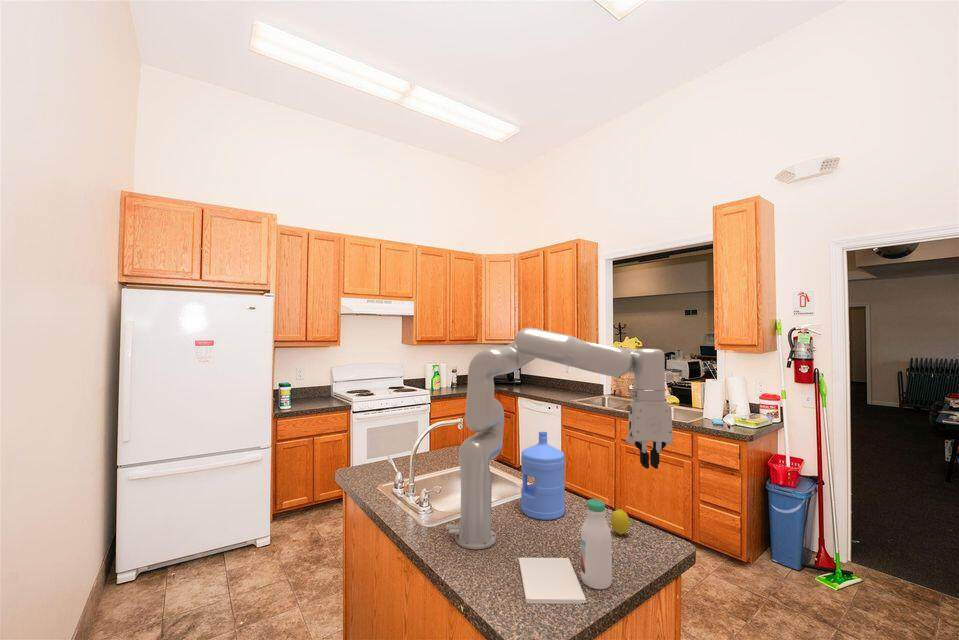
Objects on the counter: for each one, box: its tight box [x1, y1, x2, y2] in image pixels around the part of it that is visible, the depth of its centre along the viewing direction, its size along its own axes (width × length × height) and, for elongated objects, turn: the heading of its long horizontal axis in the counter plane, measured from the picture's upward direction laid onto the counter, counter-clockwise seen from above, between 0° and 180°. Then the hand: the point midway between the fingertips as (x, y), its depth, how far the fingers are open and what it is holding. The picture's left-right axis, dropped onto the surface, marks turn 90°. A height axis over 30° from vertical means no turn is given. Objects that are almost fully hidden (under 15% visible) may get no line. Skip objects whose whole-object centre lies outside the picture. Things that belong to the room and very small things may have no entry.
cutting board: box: [518, 557, 587, 605], centre depth 104 cm, size 14×18×1 cm
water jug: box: [520, 431, 566, 521], centre depth 147 cm, size 16×16×28 cm
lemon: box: [610, 508, 630, 536], centre depth 130 cm, size 6×6×8 cm
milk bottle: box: [580, 498, 613, 590], centre depth 105 cm, size 8×8×20 cm
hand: (649, 466), depth 106 cm, fingers closed
